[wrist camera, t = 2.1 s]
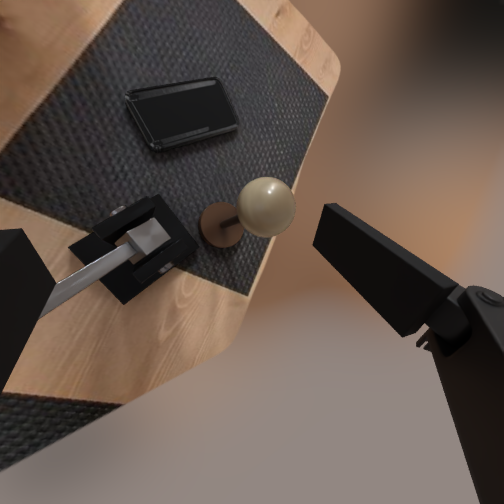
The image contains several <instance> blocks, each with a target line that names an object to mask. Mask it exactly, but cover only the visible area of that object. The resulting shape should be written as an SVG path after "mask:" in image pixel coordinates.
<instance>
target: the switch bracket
mask: <svg viewBox="0 0 504 504" xmlns="http://www.w3.org/2000/svg"><path fill="white" fill-rule="evenodd" d="M110 216H111V217H110V218H108V219H106V220H104V221H103V222H101V223H99V224H97V225H96V226H94V227H92V230H93V231H94V232H93V233H91V234H89V235H88V236H86V237H84V238H83V239H81V240H79V241H78V242H76V243H74V244H72V245H71V246H69V247H68V248H69V249H70V250H71V251H72V252H73V253H74V254H75V255H76V256H77V257H78V259H79V260H80V261H81V262H82V263H83V264H84V265H85V266H87V265H88V264H90V263H92V262H94V261H95V260H97V259H99V258H100V257H102V256H104V255H105V254H107V253H109V252H111V251H112V250H114V249H116V248H117V246H116V244H115V242H116V241H117V240H118V239H119V238H121V237H122V236H123V235H124V234H125V233H126V232H127V231H129V230H131V229H133V228H135V227H136V226H138V225H140V224H142V223H144V222H146V221H147V220H149V219H151V218H153V217H154V218H155V219H156V220H157V221H158V223H159V224H160V225H161V226H162V228H163V229H164V230H165V231H166V233H167V234H168V235H169V236H170V237H171V239H170V240H168V241H167V242H166V243H164V244H163V245H161V246H160V247H158V248H157V249H156V250H154V251H153V252H151V253H150V254H149V255H147V256H146V257H144V258H143V259H141V260H140V261H138V262H137V263H135V264H133V263H132V262H131V261H130V260H129V259H128V260H127V261H125V262H124V263H122V264H121V265H119V266H118V267H116V268H115V269H114V270H112V271H111V272H109V273H108V274H106V275H105V276H103V277H102V278H100V279H99V280H100V281H101V282H102V283H103V284H104V285H105V286H106V287H107V288H108V289H109V290H110V291H111V292H112V293H113V294H114V296H115V297H116V298H117V299H118V300H119V301H120V302H121V303H122V304H123V305H125V304H126V303H127V302H128V301H130V300H131V299H132V298H134V297H135V296H136V295H138V294H139V293H140V292H142V291H143V290H144V289H145V288H147V287H148V286H149V285H151V284H152V283H153V282H155V281H156V280H157V279H159V278H160V277H161V276H162V275H164V274H165V273H166V272H168V271H169V270H170V269H172V268H173V267H174V266H176V265H177V264H178V263H179V262H181V261H182V260H183V259H185V258H186V257H187V256H189V255H190V254H191V253H193V252H194V251H195V250H196V249H198V248H199V246H198V244H197V243H196V242H195V240H194V239H193V238H192V236H191V235H190V234H189V233H188V231H187V230H186V229H185V227H184V226H183V225H182V223H181V222H180V221H179V220H178V218H177V217H176V216H175V214H174V213H173V212H172V210H171V209H170V208H169V207H168V205H167V204H166V203H165V201H164V200H163V199H162V197H161V196H160V195H159V194H157V195H155V196H154V197H152V198H149V197H148V196H146V197H144V198H142V199H140V200H139V201H137V202H135V203H134V204H132V205H130V206H128V207H127V206H126V205H123V206H120V207H118V208H117V209H115V210H113V211H112V212H111V213H110Z"/></svg>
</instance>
